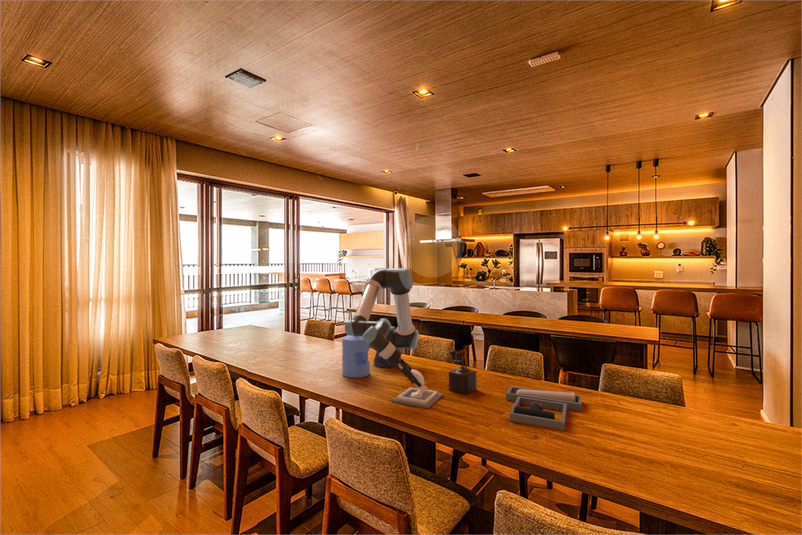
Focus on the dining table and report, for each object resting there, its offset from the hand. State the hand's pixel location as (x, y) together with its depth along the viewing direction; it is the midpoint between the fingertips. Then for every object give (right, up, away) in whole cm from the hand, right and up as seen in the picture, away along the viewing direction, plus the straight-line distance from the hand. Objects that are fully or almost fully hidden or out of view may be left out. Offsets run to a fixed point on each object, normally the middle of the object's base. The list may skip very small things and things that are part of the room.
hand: (423, 386), depth 175 cm
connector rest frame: (+47, -6, -20) cm, 51 cm away
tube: (+55, -6, -4) cm, 55 cm away
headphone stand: (-3, -5, 0) cm, 6 cm away
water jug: (-36, -6, +38) cm, 53 cm away
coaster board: (-3, -6, 0) cm, 6 cm away
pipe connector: (+44, -6, -23) cm, 50 cm away
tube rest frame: (+54, -6, -4) cm, 55 cm away
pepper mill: (+19, -6, +14) cm, 24 cm away
